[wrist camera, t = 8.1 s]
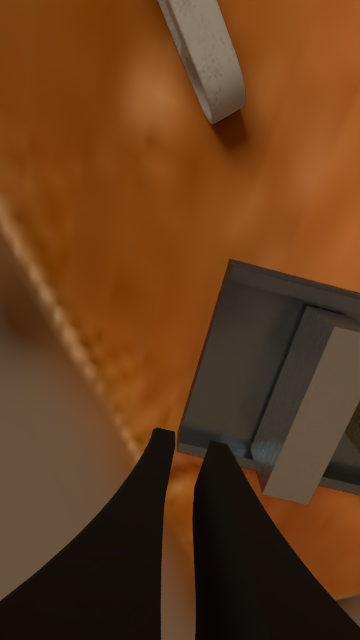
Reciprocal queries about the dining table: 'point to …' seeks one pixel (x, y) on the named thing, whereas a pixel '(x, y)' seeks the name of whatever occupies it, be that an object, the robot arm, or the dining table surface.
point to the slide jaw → (309, 406)
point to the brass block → (354, 428)
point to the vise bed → (257, 364)
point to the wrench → (206, 55)
